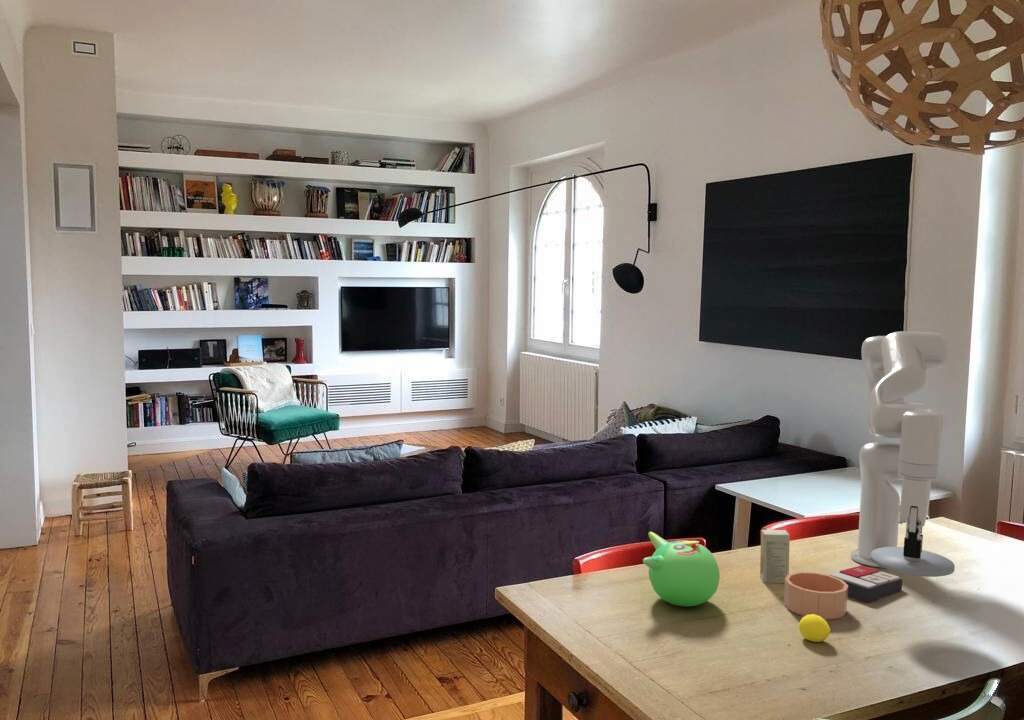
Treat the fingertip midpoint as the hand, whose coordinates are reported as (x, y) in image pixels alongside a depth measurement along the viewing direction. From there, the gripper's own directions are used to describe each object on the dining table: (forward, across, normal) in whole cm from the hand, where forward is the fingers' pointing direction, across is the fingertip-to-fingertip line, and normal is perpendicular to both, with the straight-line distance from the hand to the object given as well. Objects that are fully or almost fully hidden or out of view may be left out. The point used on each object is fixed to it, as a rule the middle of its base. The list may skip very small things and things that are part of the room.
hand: (912, 553), depth 175 cm
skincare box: (+16, -12, -31) cm, 37 cm away
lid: (+2, 0, 0) cm, 2 cm away
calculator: (+17, -18, -11) cm, 27 cm away
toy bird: (+16, +14, -46) cm, 51 cm away
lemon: (+16, +18, -16) cm, 29 cm away
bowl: (+16, 0, -19) cm, 25 cm away
